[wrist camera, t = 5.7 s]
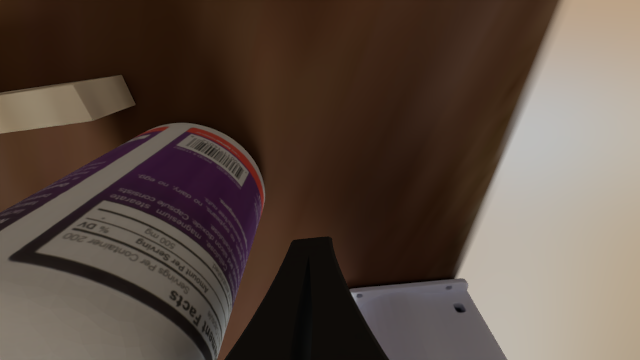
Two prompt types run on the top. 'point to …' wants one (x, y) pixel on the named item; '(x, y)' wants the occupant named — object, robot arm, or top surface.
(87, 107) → the cradle
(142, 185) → the pill bottle
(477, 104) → the top surface
